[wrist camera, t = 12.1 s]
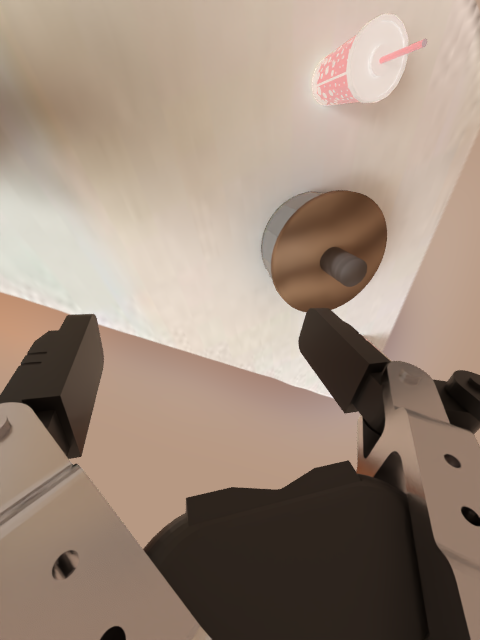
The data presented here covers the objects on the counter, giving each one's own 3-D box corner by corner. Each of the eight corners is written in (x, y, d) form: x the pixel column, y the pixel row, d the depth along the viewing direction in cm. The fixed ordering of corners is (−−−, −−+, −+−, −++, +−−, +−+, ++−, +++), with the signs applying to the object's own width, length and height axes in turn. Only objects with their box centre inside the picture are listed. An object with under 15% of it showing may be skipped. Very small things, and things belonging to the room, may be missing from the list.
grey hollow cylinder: (247, 220, 38) (263, 232, 32) (338, 173, 38) (370, 177, 32) (277, 298, 47) (293, 318, 41) (351, 260, 47) (378, 275, 41)
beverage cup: (350, 106, 34) (448, 83, 22) (307, 119, 33) (385, 102, 22) (352, 40, 30) (469, -27, 19) (304, 53, 30) (394, -8, 18)
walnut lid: (252, 230, 32) (270, 244, 27) (376, 164, 32) (417, 167, 27) (290, 326, 42) (308, 350, 37) (384, 277, 42) (415, 294, 37)
